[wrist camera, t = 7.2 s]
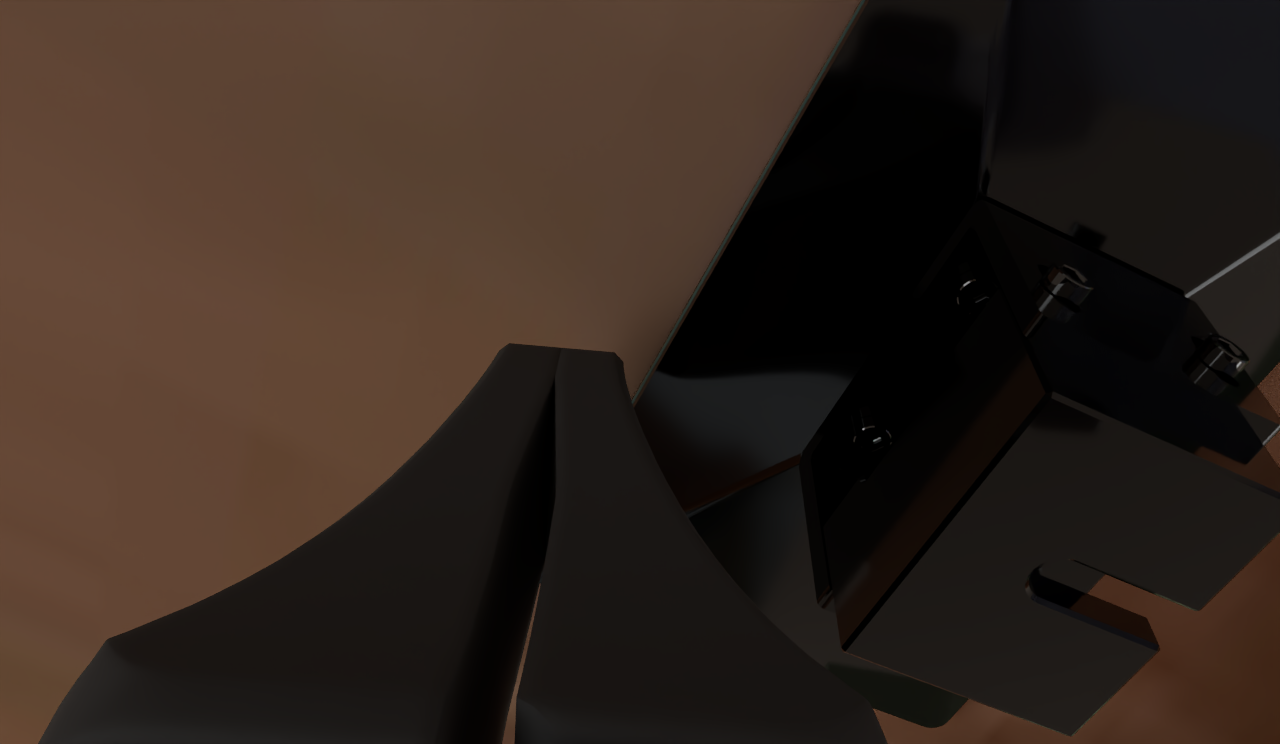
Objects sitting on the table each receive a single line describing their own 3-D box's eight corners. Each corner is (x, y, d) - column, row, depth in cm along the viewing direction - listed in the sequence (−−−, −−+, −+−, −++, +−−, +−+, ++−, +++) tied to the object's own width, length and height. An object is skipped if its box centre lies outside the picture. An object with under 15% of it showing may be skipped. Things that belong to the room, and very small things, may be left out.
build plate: (933, 710, 19) (994, 992, 16) (517, 556, 18) (470, 826, 14) (1562, 27, 13) (1931, 216, 9) (1000, -303, 12) (1157, -243, 8)
